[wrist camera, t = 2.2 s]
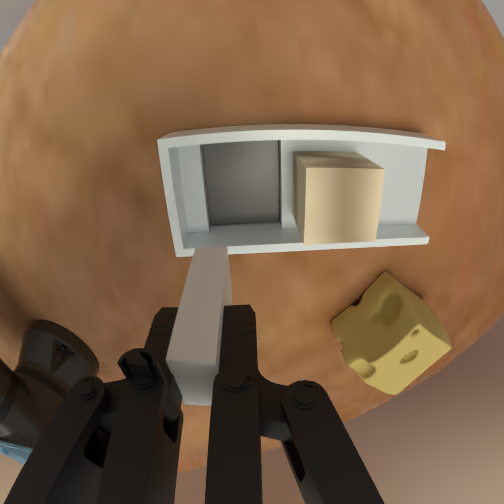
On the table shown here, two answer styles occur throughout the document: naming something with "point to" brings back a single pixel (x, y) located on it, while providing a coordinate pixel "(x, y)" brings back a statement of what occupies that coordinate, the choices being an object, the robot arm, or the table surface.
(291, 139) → the channel
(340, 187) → the block
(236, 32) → the table surface
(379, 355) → the cheese
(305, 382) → the robot arm
